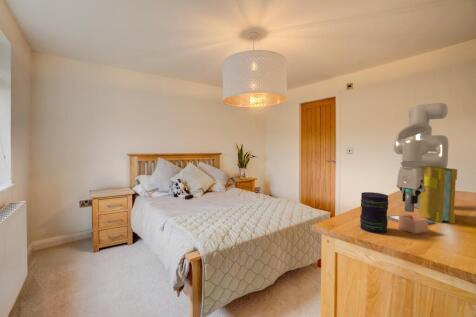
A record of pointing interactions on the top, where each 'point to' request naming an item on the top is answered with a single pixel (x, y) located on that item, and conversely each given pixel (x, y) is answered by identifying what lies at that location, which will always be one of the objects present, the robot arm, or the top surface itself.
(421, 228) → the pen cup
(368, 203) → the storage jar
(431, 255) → the top surface
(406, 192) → the cylinder
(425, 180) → the book
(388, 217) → the writing mat
